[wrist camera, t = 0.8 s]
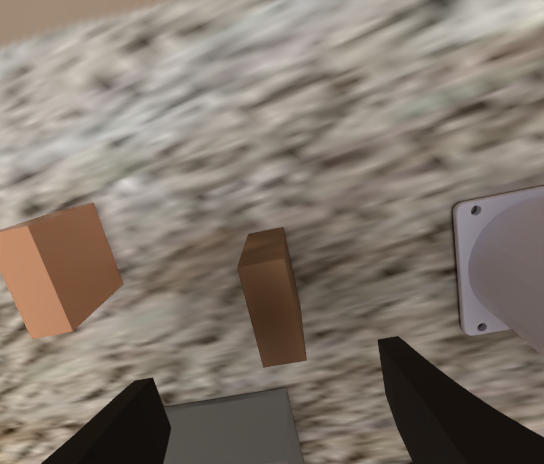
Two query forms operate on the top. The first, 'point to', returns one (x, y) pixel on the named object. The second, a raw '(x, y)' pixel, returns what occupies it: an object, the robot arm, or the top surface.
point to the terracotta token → (58, 269)
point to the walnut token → (272, 298)
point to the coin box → (234, 431)
